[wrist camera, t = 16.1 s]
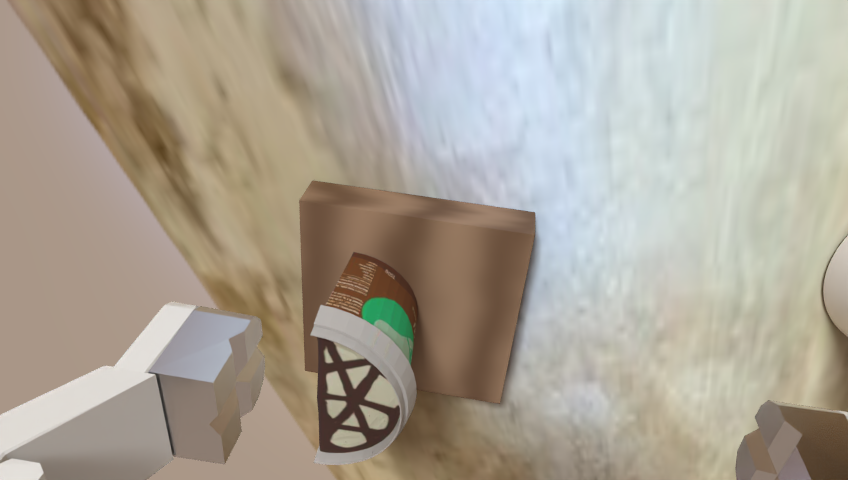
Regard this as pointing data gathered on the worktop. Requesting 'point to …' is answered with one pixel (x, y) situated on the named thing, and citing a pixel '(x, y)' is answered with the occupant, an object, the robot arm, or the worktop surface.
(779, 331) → the worktop surface
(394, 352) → the food container
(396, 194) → the walnut base
